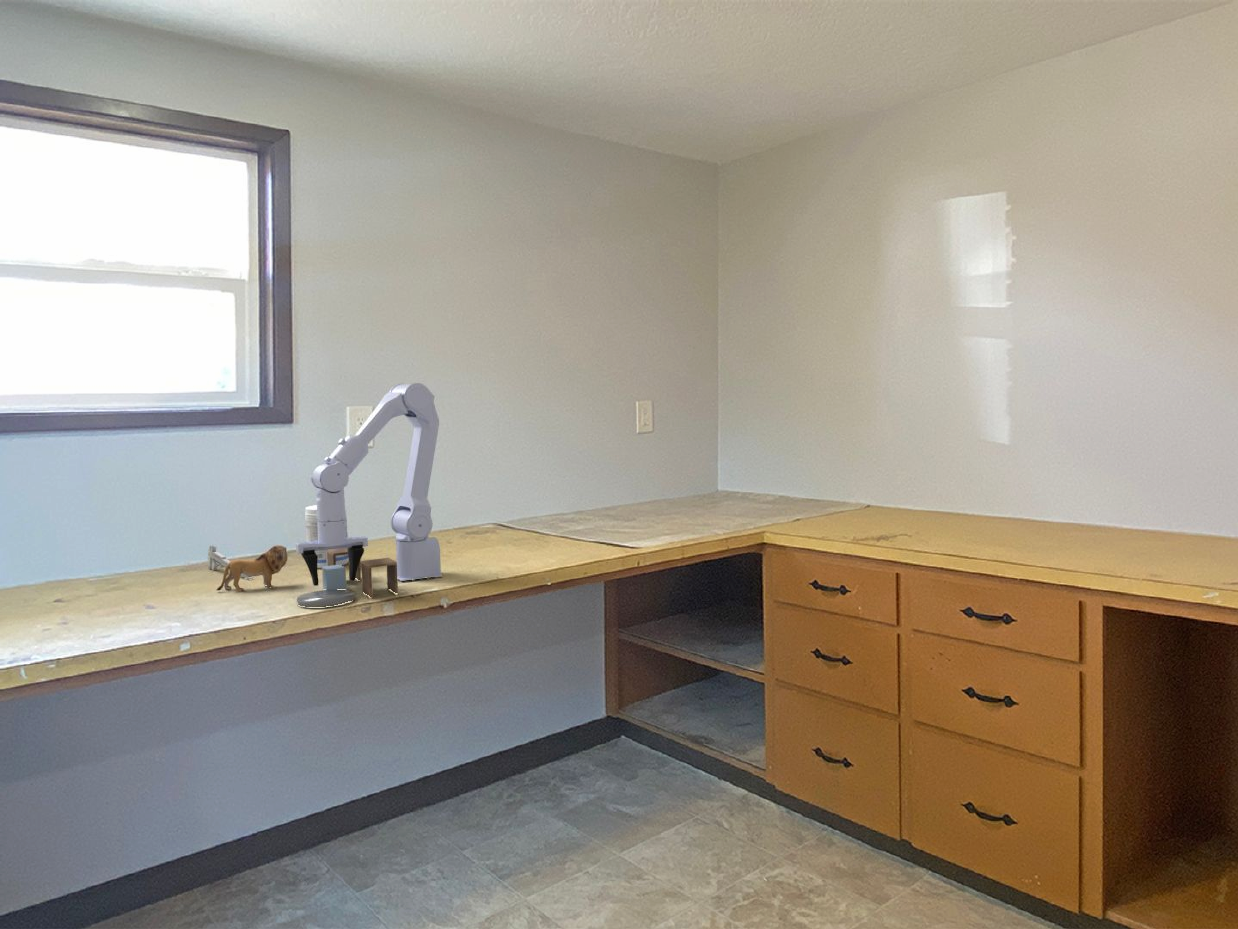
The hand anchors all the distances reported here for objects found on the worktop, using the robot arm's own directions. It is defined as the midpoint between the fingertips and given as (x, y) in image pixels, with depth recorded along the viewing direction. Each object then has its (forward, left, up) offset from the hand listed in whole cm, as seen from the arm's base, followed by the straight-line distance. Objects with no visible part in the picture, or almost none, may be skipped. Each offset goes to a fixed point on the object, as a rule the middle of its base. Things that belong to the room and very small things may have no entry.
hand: (334, 582), depth 182 cm
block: (0, 0, -2) cm, 2 cm away
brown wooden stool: (-7, +10, -2) cm, 12 cm away
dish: (+4, +10, -2) cm, 11 cm away
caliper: (+17, -31, -2) cm, 35 cm away
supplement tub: (-5, -28, -2) cm, 28 cm away
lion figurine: (+14, -12, -2) cm, 19 cm away
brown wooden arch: (-4, -8, -2) cm, 9 cm away
